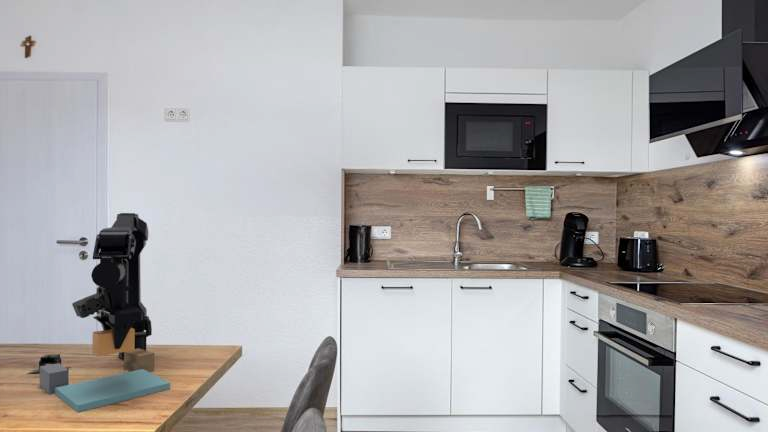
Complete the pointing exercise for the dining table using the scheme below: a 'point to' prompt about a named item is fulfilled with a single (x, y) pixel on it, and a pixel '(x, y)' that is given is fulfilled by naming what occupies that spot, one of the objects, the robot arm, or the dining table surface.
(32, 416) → the dining table surface
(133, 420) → the dining table surface
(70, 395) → the teal board
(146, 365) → the walnut brick
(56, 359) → the black angular block
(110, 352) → the orange brick
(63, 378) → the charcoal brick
